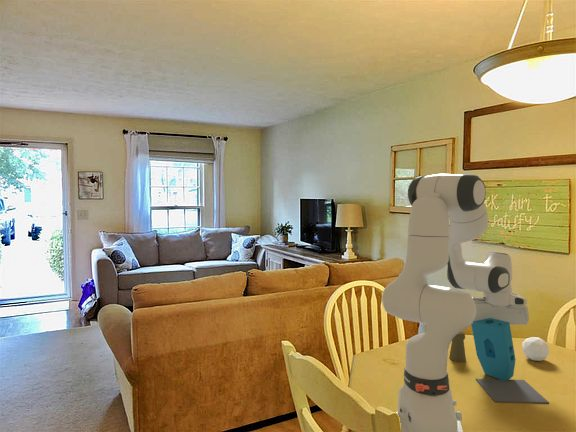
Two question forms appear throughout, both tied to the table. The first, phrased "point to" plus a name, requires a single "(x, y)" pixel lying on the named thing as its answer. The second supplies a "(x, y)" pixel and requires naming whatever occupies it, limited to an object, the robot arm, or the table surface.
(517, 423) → the table surface
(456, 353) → the cork
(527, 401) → the mat
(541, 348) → the white faceted ball
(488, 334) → the block
